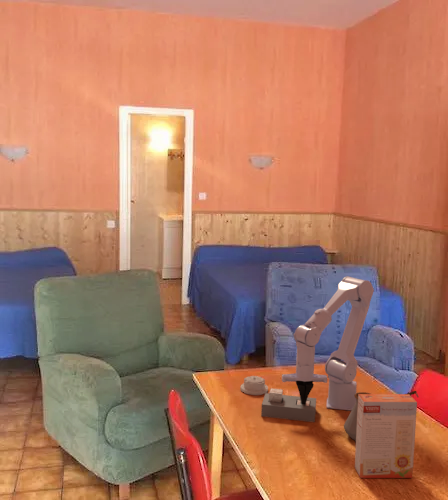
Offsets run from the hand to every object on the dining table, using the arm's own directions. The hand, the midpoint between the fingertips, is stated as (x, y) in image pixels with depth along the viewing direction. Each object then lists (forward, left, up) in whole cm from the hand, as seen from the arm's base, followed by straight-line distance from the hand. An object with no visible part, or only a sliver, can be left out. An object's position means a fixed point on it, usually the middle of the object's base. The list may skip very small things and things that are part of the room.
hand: (303, 402), depth 185 cm
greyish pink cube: (+9, 0, -1) cm, 9 cm away
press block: (+4, 0, -4) cm, 6 cm away
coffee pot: (-24, +11, -4) cm, 26 cm away
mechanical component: (+18, -17, -4) cm, 26 cm away
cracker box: (-23, +32, -4) cm, 40 cm away
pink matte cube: (0, 0, -4) cm, 4 cm away
